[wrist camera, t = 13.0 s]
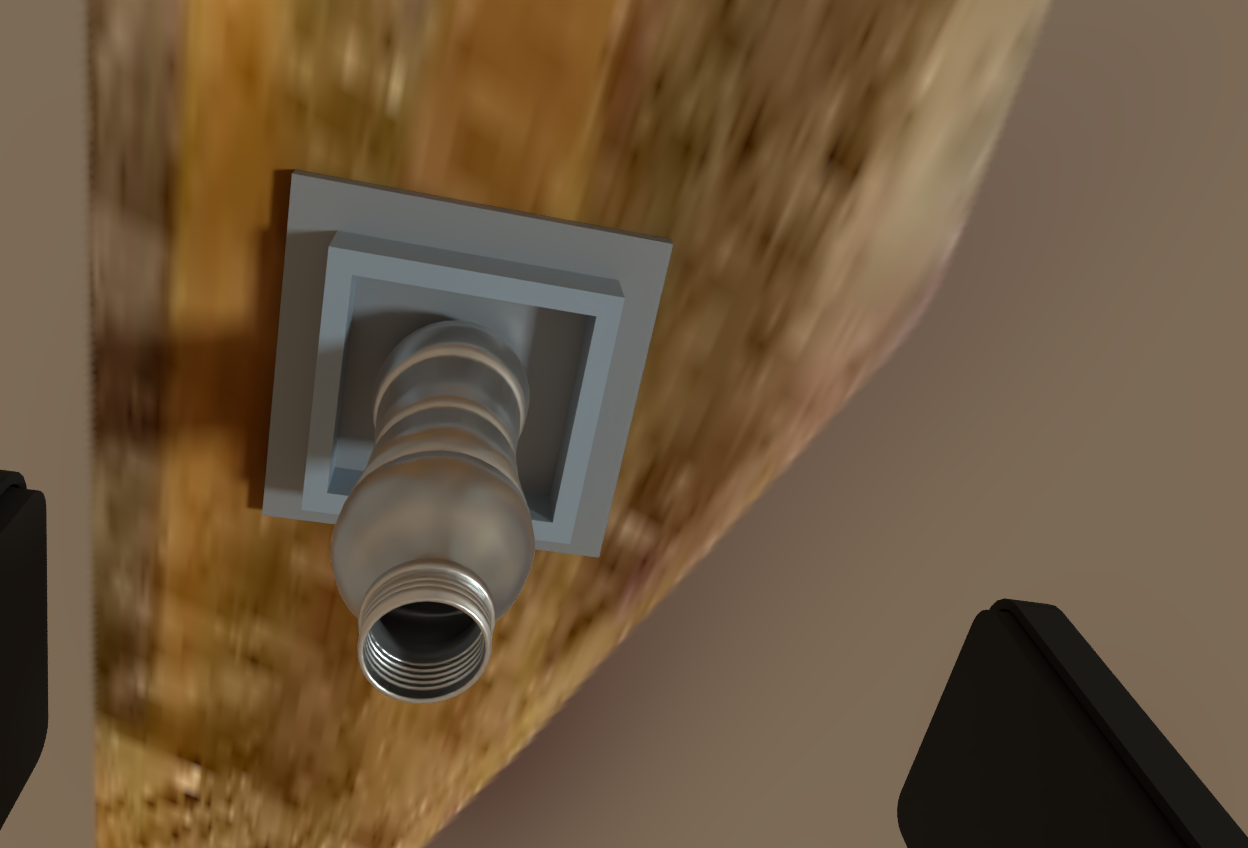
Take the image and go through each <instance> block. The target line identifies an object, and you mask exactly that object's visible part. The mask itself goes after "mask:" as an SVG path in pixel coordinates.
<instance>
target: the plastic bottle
mask: <svg viewBox="0 0 1248 848" xmlns="http://www.w3.org/2000/svg"><path fill="white" fill-rule="evenodd" d="M529 403H530V389H529V384H528V379H527V375H526V373H525V371H524V369H523V366H522V364H521V362H520V360H519V358H518V357H517V355H516V353H515V352H514V350H513V349H512V348H511V346H510V345H509V344H508V343H507V342H506V341H505V340H504V339H503V338H502V337H501V336H500V335H498V334H497V333H495V332H493V331H492V330H490V329H488V328H487V327H484V326H481V325H478V324H476V323H473V322H466V321H459V320H454V321H441V322H437V323H432V324H429V325H426V326H424V327H422V328H419V329H417V330H415V331H414V332H412V333H411V334H409V335H408V336H406V337H405V338H404V339H403V340H402V341H401V342H400V343H399V344H398V345H397V346H396V347H395V348H394V349H393V350H392V352H391V353H390V354H389V355H388V356H387V358H386V359H385V361H384V362H383V364H382V365H381V367H380V368H379V371H378V374H377V376H376V379H375V381H374V387H373V394H372V407H373V423H374V427H375V440H374V448H373V450H372V453H371V456H370V458H369V461H368V464H367V466H366V468H365V470H364V472H363V473H362V475H361V477H360V478H359V480H358V481H357V483H356V485H355V486H354V488H353V490H352V491H351V493H350V495H349V496H348V498H347V499H346V501H345V502H344V505H343V507H342V510H341V512H340V514H339V516H338V519H337V521H336V524H335V527H334V529H333V532H332V538H331V545H330V555H331V566H332V570H333V574H334V577H335V581H336V584H337V587H338V590H339V593H340V596H341V597H342V599H343V601H344V602H345V604H346V606H347V607H348V609H349V610H350V611H351V612H352V613H353V614H354V615H355V616H356V617H357V618H358V619H359V620H358V627H359V639H358V645H357V650H358V660H359V664H360V667H361V670H362V672H363V674H364V675H365V677H366V679H367V680H368V681H369V682H370V683H371V684H372V685H373V686H374V688H375V689H377V690H378V691H380V692H381V693H383V694H384V695H386V696H388V697H391V698H393V699H395V700H399V701H403V702H407V703H415V704H427V703H436V702H440V701H445V700H448V699H450V698H453V697H455V696H458V695H459V694H461V693H462V692H464V691H466V690H467V689H469V688H470V687H471V686H472V685H473V684H474V683H475V682H477V680H478V679H479V678H480V676H481V675H482V674H483V673H484V670H485V668H486V666H487V664H488V661H489V658H490V654H491V649H492V635H493V630H494V626H495V622H496V621H497V620H498V619H500V618H501V617H502V616H503V615H504V614H505V613H506V612H507V611H508V610H509V608H510V607H511V606H512V605H513V603H514V602H515V601H516V599H517V598H518V596H519V594H520V592H521V590H522V588H523V586H524V584H525V582H526V579H527V577H528V575H529V573H530V571H531V567H532V563H533V559H534V555H535V536H534V531H533V525H532V520H531V516H530V511H529V508H528V506H527V502H526V499H525V496H524V493H523V490H522V487H521V484H520V481H519V478H518V470H517V464H516V450H517V444H518V440H519V437H520V435H521V433H522V431H523V428H524V425H525V421H526V417H527V413H528V408H529Z"/></svg>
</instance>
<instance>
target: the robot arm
mask: <svg viewBox="0 0 1248 848" xmlns="http://www.w3.org/2000/svg"><path fill="white" fill-rule="evenodd" d="M46 536H47V535H46V500H45V497H44V494H43V493H42V492H41V491H38V490H29V489H27V488H26V483H25V480H24V477H23V476H22V475H21V474H20V473H19V472H13V471H6V470H0V830H1V828H2V826H3V824H4V822H5V820H6V818H7V817H8V815H9V813H10V811H11V809H12V808H13V806H14V804H15V802H16V800H17V799H18V797H19V795H20V793H21V791H22V790H23V788H24V786H25V784H26V782H27V780H28V779H29V777H30V775H31V773H32V771H33V769H34V768H35V766H36V764H37V762H38V760H39V757H40V755H41V752H42V749H43V746H44V743H45V739H46V734H47V728H48V655H47V654H48V647H47V646H48V644H47V542H46V541H47V537H46ZM897 817H898V824H899V828H900V831H901V834H902V836H903V838H904V841H905V843H906V845H907V848H1248V837H1247V836H1246V835H1245V834H1244V832H1243V831H1242V830H1241V829H1240V827H1239V826H1238V825H1237V824H1236V823H1235V821H1234V820H1233V819H1232V818H1231V816H1230V815H1229V814H1228V813H1227V812H1226V811H1225V809H1224V808H1223V807H1222V805H1221V804H1220V803H1219V802H1218V801H1217V799H1216V798H1215V797H1214V796H1213V795H1212V793H1211V792H1210V791H1209V790H1208V788H1207V787H1206V786H1205V785H1204V784H1203V782H1202V781H1201V780H1200V779H1199V777H1198V776H1197V775H1196V774H1195V773H1194V771H1193V770H1192V769H1191V768H1190V766H1189V765H1188V764H1187V763H1186V762H1185V760H1184V759H1183V758H1182V757H1181V756H1180V754H1179V753H1178V752H1177V751H1176V749H1175V748H1174V747H1173V746H1172V745H1171V744H1170V742H1169V741H1168V740H1167V739H1166V737H1165V736H1164V735H1163V734H1162V732H1161V731H1160V730H1159V729H1158V728H1157V726H1156V725H1155V724H1154V723H1153V722H1152V720H1151V719H1150V718H1149V717H1148V715H1147V714H1146V713H1145V712H1144V711H1143V709H1142V708H1141V707H1140V706H1139V704H1138V703H1137V702H1136V701H1135V700H1134V698H1133V697H1132V696H1131V695H1130V694H1129V692H1128V691H1127V690H1126V689H1125V687H1124V686H1123V685H1122V684H1121V683H1120V681H1119V680H1118V679H1117V678H1116V676H1115V675H1114V674H1113V673H1112V672H1111V670H1109V668H1108V667H1107V666H1106V665H1105V663H1104V662H1103V661H1102V660H1101V658H1100V657H1099V656H1098V655H1097V653H1096V652H1095V651H1094V650H1093V649H1092V647H1091V646H1090V645H1089V644H1088V642H1087V641H1086V640H1085V639H1084V638H1083V636H1082V635H1081V634H1080V633H1079V632H1078V631H1077V629H1076V628H1075V627H1074V625H1073V624H1072V623H1071V622H1070V621H1069V619H1068V618H1067V617H1066V616H1065V614H1064V613H1063V612H1062V611H1061V610H1060V609H1058V608H1057V607H1056V606H1054V605H1049V604H1043V603H1035V602H1028V601H1020V600H1012V599H1001V600H998V601H996V602H995V603H994V604H993V605H992V606H991V608H990V609H989V610H983V611H981V612H980V613H979V614H978V615H977V616H976V617H975V619H974V621H973V623H972V625H971V628H970V630H969V633H968V635H967V637H966V640H965V642H964V645H963V647H962V649H961V651H960V654H959V656H958V659H957V661H956V663H955V666H954V668H953V670H952V673H951V675H950V677H949V680H948V682H947V684H946V687H945V689H944V692H943V694H942V696H941V699H940V701H939V704H938V706H937V708H936V710H935V713H934V715H933V717H932V720H931V722H930V725H929V727H928V729H927V732H926V734H925V736H924V739H923V741H922V744H921V746H920V748H919V751H918V753H917V755H916V758H915V760H914V762H913V765H912V767H911V770H910V772H909V774H908V777H907V779H906V781H905V784H904V786H903V788H902V791H901V793H900V796H899V800H898V807H897Z"/></svg>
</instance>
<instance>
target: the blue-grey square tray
mask: <svg viewBox="0 0 1248 848" xmlns="http://www.w3.org/2000/svg"><path fill="white" fill-rule="evenodd" d="M672 247H673V243H672V241H671V239H666V238H661V237H655V236H650V235H644V234H639V233H634V232H628V231H623V230H618V229H612V228H607V227H601V226H596V225H591V224H585V223H580V222H575V221H569V220H564V219H558V218H553V217H548V216H542V215H537V214H532V213H526V212H521V211H516V210H510V209H505V208H499V207H494V206H489V205H483V204H478V203H473V202H467V201H462V200H456V199H451V198H446V197H440V196H435V195H430V194H424V193H419V192H413V191H408V190H403V189H397V188H392V187H387V186H381V185H376V184H370V183H365V182H360V181H354V180H349V179H344V178H338V177H333V176H328V175H322V174H317V173H311V172H306V171H301V170H294V172H293V173H292V178H291V190H290V201H289V213H288V224H287V236H286V247H285V259H284V270H283V282H282V293H281V304H280V316H279V327H278V339H277V350H276V362H275V373H274V385H273V396H272V408H271V419H270V431H269V442H268V454H267V465H266V476H265V488H264V499H263V511H262V515H266V516H274V517H282V518H290V519H298V520H306V521H314V522H322V523H330V524H336V521H337V519H338V516H339V514H340V512H341V510H342V507H343V505H344V502H345V501H346V499H347V498H348V496H349V495H350V493H351V491H352V490H353V488H354V486H355V485H356V483H357V481H358V480H359V478H360V477H361V475H362V473H363V472H364V470H365V468H366V466H367V464H368V461H369V458H370V456H371V453H372V450H373V448H374V440H375V427H374V423H373V407H372V394H373V387H374V381H375V379H376V376H377V374H378V371H379V368H380V367H381V365H382V364H383V362H384V361H385V359H386V358H387V356H388V355H389V354H390V353H391V352H392V350H393V349H394V348H395V347H396V346H397V345H398V344H399V343H400V342H401V341H402V340H403V339H404V338H405V337H406V336H408V335H409V334H411V333H412V332H414V331H415V330H417V329H419V328H422V327H424V326H426V325H429V324H432V323H437V322H441V321H454V320H459V321H466V322H473V323H476V324H478V325H481V326H484V327H487V328H488V329H490V330H492V331H493V332H495V333H497V334H498V335H500V336H501V337H502V338H503V339H504V340H505V341H506V342H507V343H508V344H509V345H510V346H511V348H512V349H513V350H514V352H515V353H516V355H517V357H518V358H519V360H520V362H521V364H522V366H523V369H524V371H525V373H526V375H527V379H528V384H529V389H530V403H529V408H528V413H527V417H526V421H525V425H524V428H523V431H522V433H521V435H520V437H519V440H518V444H517V450H516V464H517V470H518V478H519V481H520V484H521V487H522V490H523V493H524V496H525V499H526V502H527V506H528V508H529V511H530V516H531V520H532V525H533V531H534V536H535V549H536V550H544V551H552V552H560V553H568V554H576V555H584V556H592V557H599V555H600V551H601V547H602V542H603V538H604V534H605V530H606V525H607V521H608V517H609V513H610V509H611V504H612V500H613V496H614V492H615V487H616V483H617V479H618V475H619V471H620V466H621V462H622V458H623V454H624V450H625V445H626V441H627V437H628V433H629V428H630V424H631V420H632V416H633V412H634V407H635V403H636V399H637V395H638V390H639V386H640V382H641V378H642V374H643V369H644V365H645V361H646V357H647V353H648V348H649V344H650V340H651V336H652V331H653V327H654V323H655V319H656V315H657V310H658V306H659V302H660V298H661V293H662V289H663V285H664V281H665V277H666V272H667V268H668V264H669V260H670V256H671V251H672Z"/></svg>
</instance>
